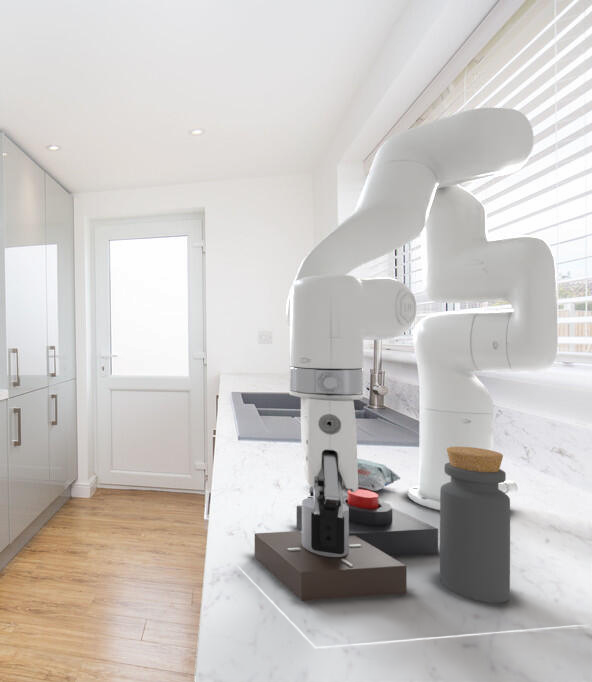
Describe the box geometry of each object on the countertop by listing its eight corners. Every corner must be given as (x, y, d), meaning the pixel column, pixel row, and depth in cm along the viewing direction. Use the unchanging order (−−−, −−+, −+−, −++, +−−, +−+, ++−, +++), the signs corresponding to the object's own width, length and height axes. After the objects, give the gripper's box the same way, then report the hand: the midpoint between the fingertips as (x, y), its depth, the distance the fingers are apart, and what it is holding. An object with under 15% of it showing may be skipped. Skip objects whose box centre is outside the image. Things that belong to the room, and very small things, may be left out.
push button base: (378, 523, 70) (379, 489, 70) (438, 554, 60) (438, 514, 60) (296, 527, 68) (296, 493, 68) (343, 559, 58) (343, 519, 58)
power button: (365, 501, 66) (365, 488, 66) (385, 510, 62) (385, 496, 62) (341, 502, 66) (341, 489, 66) (360, 511, 62) (360, 498, 62)
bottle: (426, 576, 54) (427, 445, 54) (473, 574, 55) (474, 444, 55) (473, 605, 48) (473, 458, 48) (525, 602, 49) (526, 457, 49)
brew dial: (300, 536, 58) (300, 493, 58) (345, 542, 56) (345, 498, 56) (303, 552, 53) (303, 505, 53) (351, 560, 52) (351, 511, 52)
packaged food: (384, 500, 80) (384, 471, 80) (312, 484, 89) (312, 457, 89) (401, 490, 85) (401, 463, 85) (331, 476, 94) (331, 451, 94)
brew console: (343, 552, 60) (343, 527, 60) (406, 593, 51) (406, 564, 50) (254, 557, 59) (254, 531, 59) (301, 601, 49) (301, 570, 49)
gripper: (378, 392, 45) (377, 582, 45) (351, 379, 61) (350, 519, 61) (292, 389, 48) (292, 568, 48) (287, 377, 64) (287, 511, 64)
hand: (324, 539), depth 55 cm, fingers closed on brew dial, 4 cm apart
